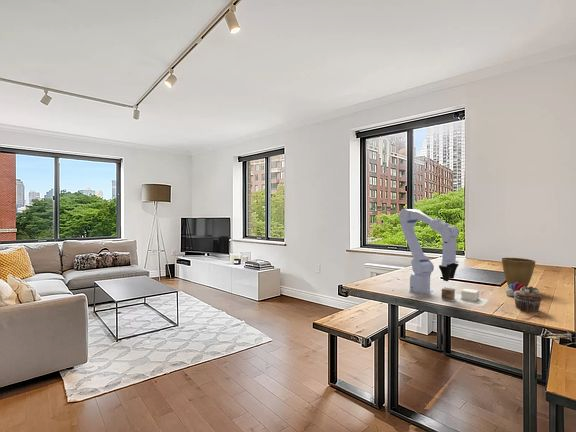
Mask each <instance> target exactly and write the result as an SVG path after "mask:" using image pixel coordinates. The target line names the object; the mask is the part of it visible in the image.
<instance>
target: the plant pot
mask: <svg viewBox="0 0 576 432" xmlns="http://www.w3.org/2000/svg"><path fill="white" fill-rule="evenodd" d="M501 263H502V269H503V274H504V277H505V281H506V283H507V286H508V289H509V288H510V284H515V283H516V282H518V283H520V284H524V285H525V286H526V287H529V285H530V282H531V279H532V277H533V273H534V271H535V266H536V260H534V259H528V258H521V257H501Z"/></svg>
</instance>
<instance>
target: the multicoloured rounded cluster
mask: <svg viewBox="0 0 576 432" xmlns="http://www.w3.org/2000/svg"><path fill="white" fill-rule="evenodd" d="M524 286H525V285H524V284H520V283H518V282H516V283H515V284H510V288H509V287H508V288H507V289H506V290H505V294H506V296H508V297H512V298H514V296H515V295H517V294H516V292H517V291H519V290H520V289H521V288H523V287H524Z"/></svg>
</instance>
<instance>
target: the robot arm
mask: <svg viewBox="0 0 576 432" xmlns="http://www.w3.org/2000/svg"><path fill="white" fill-rule="evenodd" d="M398 219H399V221H400V226H401V227H400V228H401V230H402V233H403V235H404V236H403V237H404V239H405V240H406V243H407V246H408V249H409V251H410V253H411V255H412V257H413V258H412V260H411V261H410V263H411V268H412V271H413V273H411V274H410V278H409V290H408V291H409V292H415V293H420V294H426V295H428V294H430V293H432V292H434V291H433V289H431V275H432V273H433V272H434V267H435V266H434V263H433V262H432V261H431V260H430V257H428V256H427V255H425V253H424V251H423V249H422V247H421V244H420V241H419V239H418V238H417V235H416V233H415V230H414V226H415V225H416V224H417V222H418V221H420V222H423V223H424V224H426V225H429V228H430V230H433V231H434V232H436V233H438V234H439V235H440V237H441V241H442V254H441V255H442V256H441V257H442V258H441V264H439V265H438V269H439V270H440V272H441V277H442V281H445V282H449V280H450V279H451V280H452V279H453V280H454V278H455V275H456V271H457V269H458V267H459V260H457V259H456V257H457V256H456V255H457V252H456V251H457V237H458V236H459V234H460V230H459V228H458V227H457V226H456V225H450V224H449V223H448V222H444V221H443V220H442V218H432V217H431V216H429V215H427V214H425V213H424V212H422V211H421V210H419V209H418V208H413V209H411V208H409V209H408V208H402V209H401V210H400V211H399V214H398Z"/></svg>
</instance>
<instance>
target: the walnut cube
mask: <svg viewBox="0 0 576 432" xmlns="http://www.w3.org/2000/svg"><path fill="white" fill-rule="evenodd" d="M455 294H456V288H452V287H446V286H445V287H443V288H441V297H442V298H443V299H442V300H445V299H448V300H447V301H450V300H453V299H454V298H455Z"/></svg>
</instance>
